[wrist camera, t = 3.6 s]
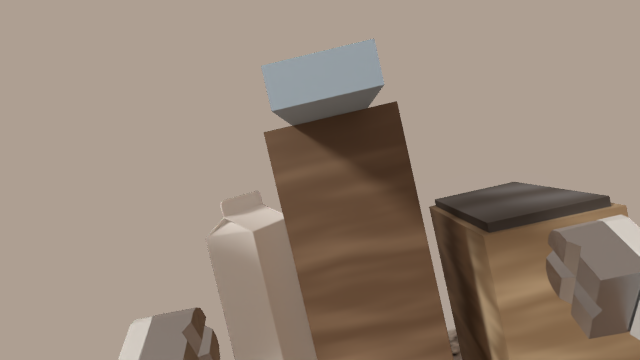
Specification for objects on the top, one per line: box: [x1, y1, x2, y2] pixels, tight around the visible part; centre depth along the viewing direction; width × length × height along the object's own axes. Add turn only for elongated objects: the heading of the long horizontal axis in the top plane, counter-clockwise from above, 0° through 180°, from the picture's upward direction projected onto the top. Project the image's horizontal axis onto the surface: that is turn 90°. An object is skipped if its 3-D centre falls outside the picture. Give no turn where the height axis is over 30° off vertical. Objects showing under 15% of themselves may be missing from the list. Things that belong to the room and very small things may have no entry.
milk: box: [206, 191, 317, 360], centre depth 43 cm, size 6×6×22 cm
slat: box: [261, 39, 384, 126], centre depth 28 cm, size 22×4×2 cm, turn 178°
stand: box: [264, 102, 453, 360], centre depth 33 cm, size 14×8×26 cm, turn 178°
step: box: [429, 182, 640, 360], centre depth 32 cm, size 14×8×18 cm, turn 178°
